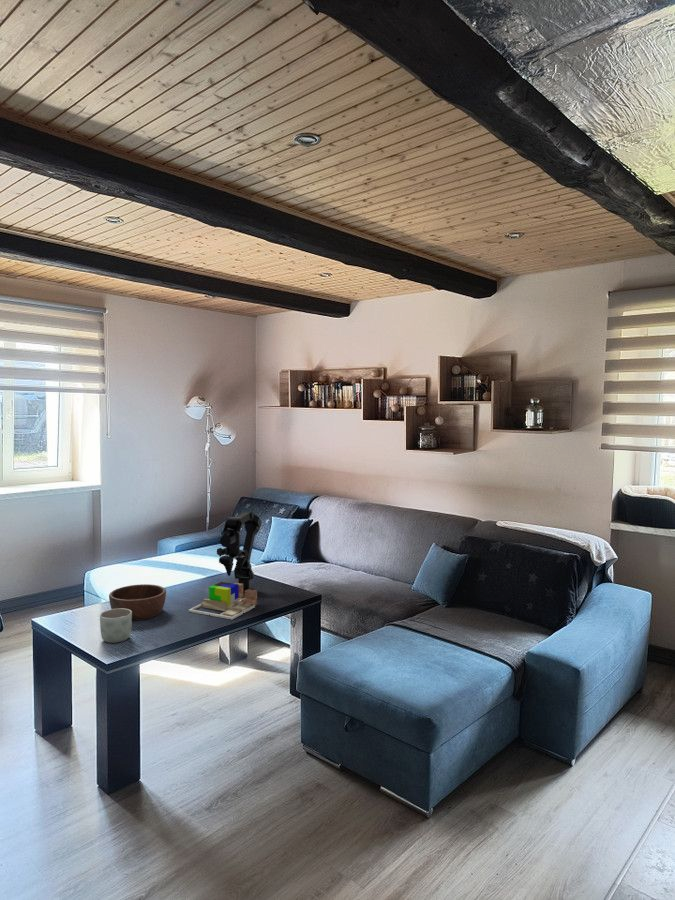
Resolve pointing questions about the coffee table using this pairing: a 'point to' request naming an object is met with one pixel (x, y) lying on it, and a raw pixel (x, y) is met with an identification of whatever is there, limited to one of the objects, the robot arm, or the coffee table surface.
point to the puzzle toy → (224, 592)
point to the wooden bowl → (139, 600)
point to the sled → (223, 605)
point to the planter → (116, 625)
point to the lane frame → (221, 613)
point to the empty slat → (249, 601)
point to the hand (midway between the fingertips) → (234, 573)
